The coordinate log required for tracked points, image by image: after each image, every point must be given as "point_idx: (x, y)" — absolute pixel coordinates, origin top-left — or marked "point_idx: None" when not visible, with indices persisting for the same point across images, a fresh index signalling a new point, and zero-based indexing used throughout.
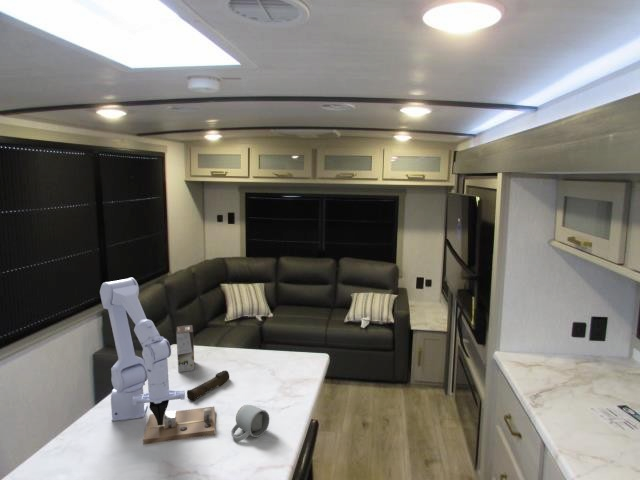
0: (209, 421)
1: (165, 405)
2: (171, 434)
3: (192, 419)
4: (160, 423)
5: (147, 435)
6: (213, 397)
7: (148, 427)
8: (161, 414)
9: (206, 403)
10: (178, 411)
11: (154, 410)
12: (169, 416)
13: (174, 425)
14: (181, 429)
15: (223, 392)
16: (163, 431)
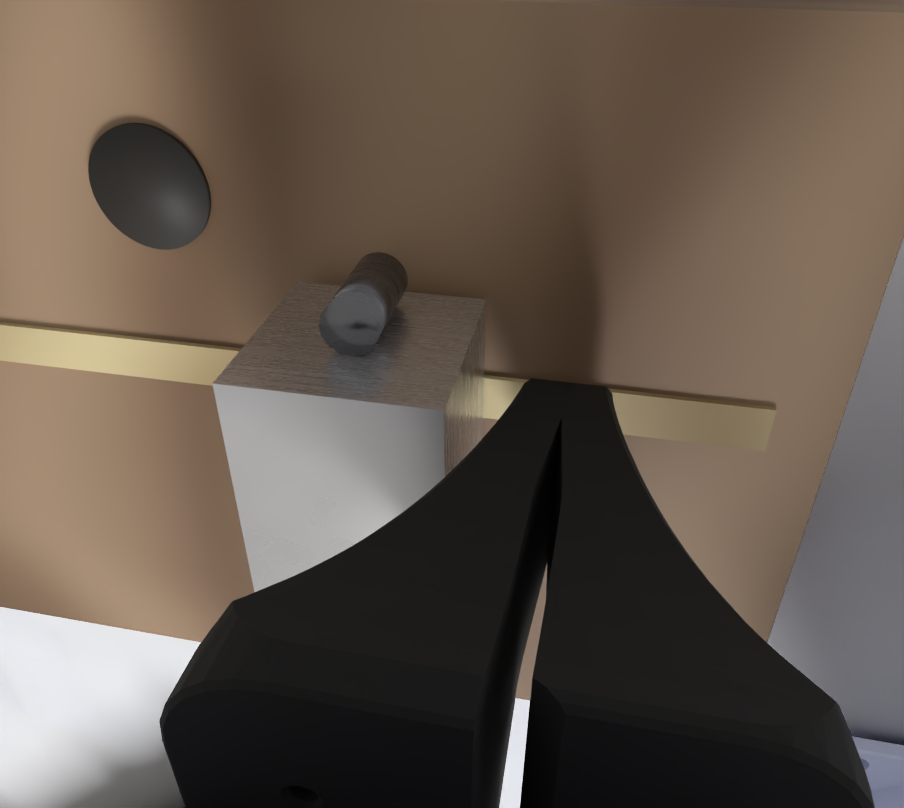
0: None
1: (219, 667)
2: (340, 59)
3: (94, 419)
4: (556, 394)
5: (840, 175)
6: (67, 751)
7: (787, 443)
8: (486, 505)
9: (103, 695)
10: None
11: (669, 631)
12: (338, 455)
13: (300, 294)
14: (179, 175)
15: (2, 779)
16: (510, 224)
